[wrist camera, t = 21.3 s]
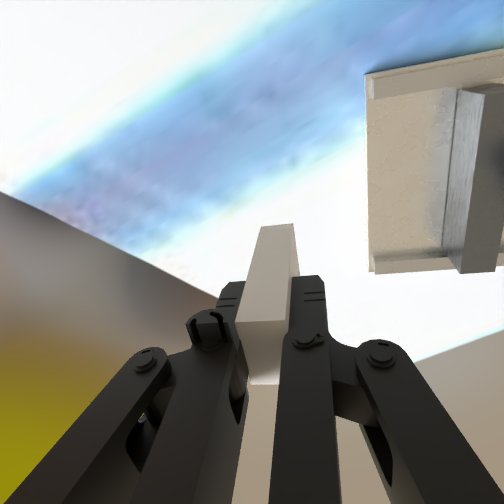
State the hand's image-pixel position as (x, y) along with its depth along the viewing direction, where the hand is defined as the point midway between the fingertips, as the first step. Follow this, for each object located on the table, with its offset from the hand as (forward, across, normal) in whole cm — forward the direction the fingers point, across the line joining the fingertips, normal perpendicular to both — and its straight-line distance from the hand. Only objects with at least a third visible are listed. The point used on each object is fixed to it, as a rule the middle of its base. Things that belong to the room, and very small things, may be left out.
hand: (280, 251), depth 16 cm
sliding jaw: (+21, -16, +5) cm, 27 cm away
